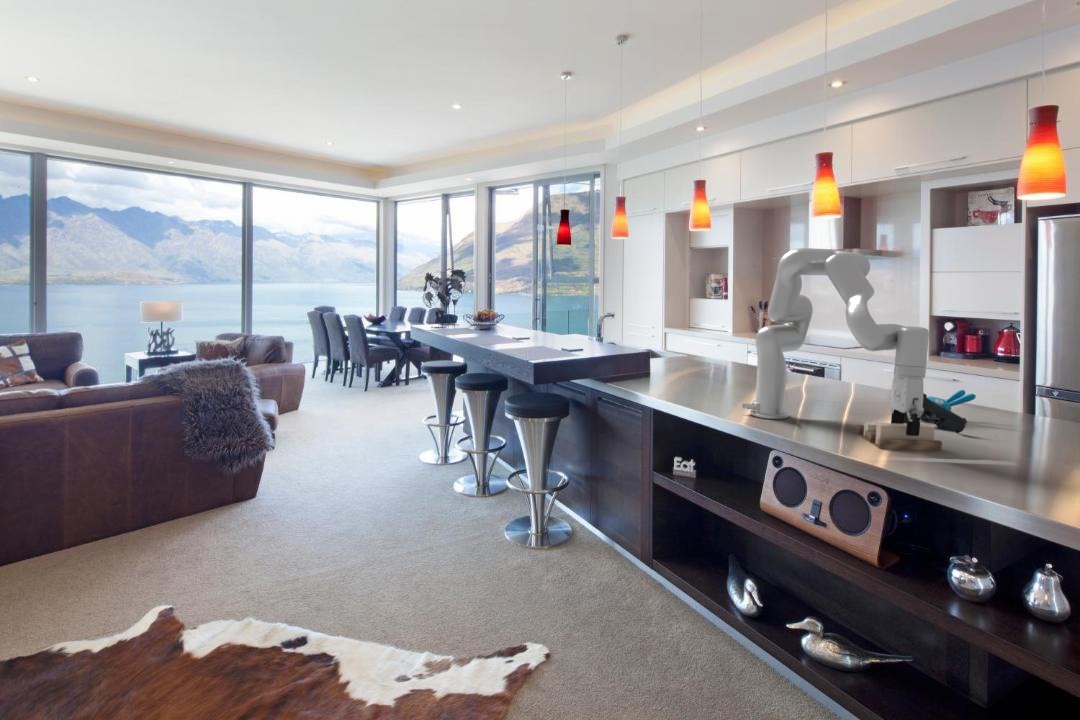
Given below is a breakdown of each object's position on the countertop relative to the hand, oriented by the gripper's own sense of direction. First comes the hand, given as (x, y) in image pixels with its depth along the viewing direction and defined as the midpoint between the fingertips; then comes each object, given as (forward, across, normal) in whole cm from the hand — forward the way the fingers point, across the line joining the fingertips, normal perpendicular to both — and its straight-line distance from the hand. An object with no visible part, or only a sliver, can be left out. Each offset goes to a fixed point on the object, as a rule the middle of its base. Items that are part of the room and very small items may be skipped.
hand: (904, 430), depth 173 cm
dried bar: (+4, -9, 0) cm, 10 cm away
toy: (+6, -39, +27) cm, 48 cm away
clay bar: (+4, 0, 0) cm, 4 cm away
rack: (+5, -4, 0) cm, 7 cm away
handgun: (+6, -24, +18) cm, 31 cm away
